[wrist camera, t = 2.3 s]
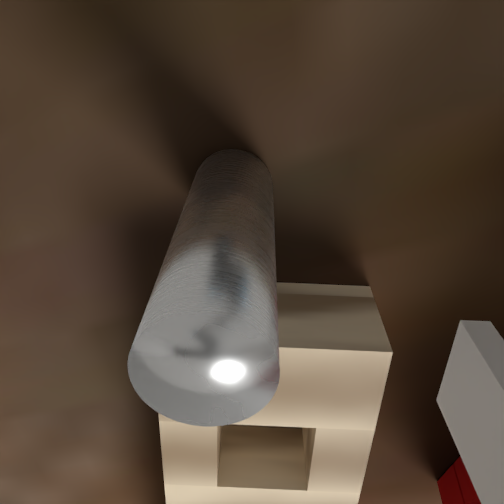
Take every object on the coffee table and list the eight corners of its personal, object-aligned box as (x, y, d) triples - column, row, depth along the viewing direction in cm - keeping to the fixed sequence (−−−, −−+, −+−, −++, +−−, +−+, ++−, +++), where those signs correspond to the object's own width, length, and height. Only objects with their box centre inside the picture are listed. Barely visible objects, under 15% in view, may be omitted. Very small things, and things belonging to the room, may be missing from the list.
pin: (193, 147, 21) (120, 308, 10) (275, 150, 21) (284, 315, 10) (194, 221, 23) (134, 423, 12) (270, 224, 23) (275, 429, 12)
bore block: (172, 277, 24) (152, 341, 20) (369, 286, 24) (393, 352, 20) (187, 548, 36) (176, 626, 31) (320, 554, 36) (327, 633, 31)
